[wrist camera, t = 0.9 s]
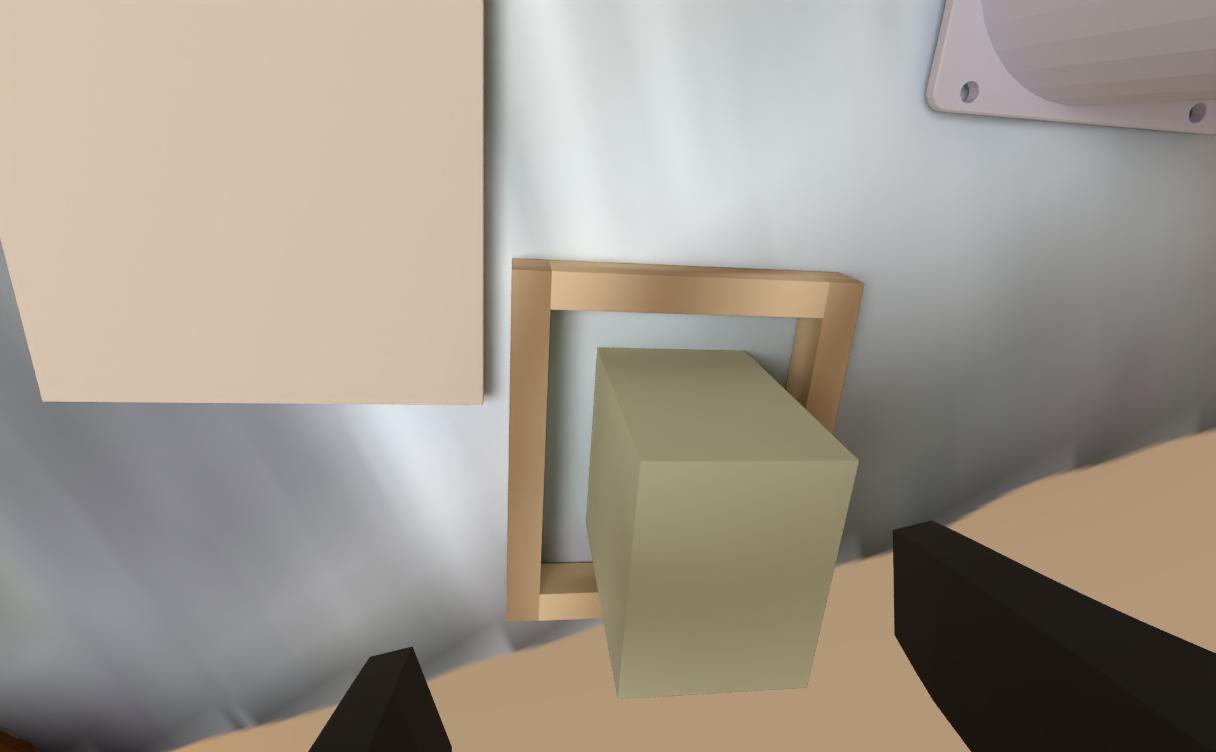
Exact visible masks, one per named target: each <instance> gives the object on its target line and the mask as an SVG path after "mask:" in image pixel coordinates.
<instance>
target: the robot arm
mask: <svg viewBox="0 0 1216 752" xmlns="http://www.w3.org/2000/svg"><path fill="white" fill-rule="evenodd" d="M965 84H967V85H968V87H969V95H968V97H967V99H966V100H965V101H964V102H963V101H962V99H961V97H960V91H961V89H962V87H963V85H965ZM926 98H927V101H928V104H929V106H930V107H931V108H932V109H933V110H936V111H939V112H948V113H960V114H972V115H983V116H995V117H1007V118H1019V119H1030V120H1042V121H1054V122H1065V123H1077V124H1089V125H1101V126H1112V127H1124V128H1136V129H1147V130H1159V131H1171V132H1183V133H1194V134H1206V135H1216V0H947V1H946V5H945V10H944V14H943V19H942V23H941V28H940V33H939V37H938V42H937V46H936V51H935V55H934V60H933V64H932V69H931V73H930V78H929V82H928V87H927V96H926ZM1192 108H1193V110H1192V115H1191V117H1190V118H1189V112H1190V110H1191V109H1192ZM893 564H894V624H895V625H894V626H895V636H896V638H897V640H898V642H899V643H900V645H901V647H902V649H903V650H904V652H905V654H906V656H907V657H908V659H909V661H910V663H911V664H912V666H913V668H914V670H915V671H916V673H917V675H918V676H919V678H920V680H921V681H922V682H923V684H924V686H925V688H926V689H927V691H928V693H929V694H930V696H931V698H932V699H933V701H934V702H935V703H936V705H937V706H938V708H939V709H940V710H941V712H942V713H943V714H944V716H945V717H946V719H947V720H948V721H949V723H951V725H952V727H953V728H954V729H955V731H956V732H957V733H958V734H959V736H960V737H961V738H962V740H963V741H964V743H965V744H966V745H967V747H968V748H969V749H970V751H971V752H1216V653H1214V652H1211V651H1209V650H1206V649H1204V648H1202V647H1200V646H1197V645H1195V644H1193V643H1190V642H1188V641H1186V640H1183V639H1181V638H1179V637H1176V636H1174V635H1172V634H1169V633H1167V632H1165V631H1162V630H1160V629H1158V628H1156V627H1153V626H1151V625H1148V624H1146V623H1144V622H1142V621H1139V620H1137V619H1135V618H1133V617H1131V616H1129V615H1126V614H1124V613H1122V612H1120V611H1118V610H1115V609H1113V608H1111V607H1109V606H1107V605H1105V604H1102V603H1100V602H1098V601H1096V600H1094V599H1092V598H1090V597H1087V596H1085V595H1083V594H1081V593H1079V592H1077V591H1075V590H1073V589H1071V588H1069V587H1067V586H1064V585H1062V584H1060V583H1058V582H1056V581H1054V580H1052V579H1050V578H1048V577H1046V576H1044V575H1042V574H1040V573H1038V572H1036V571H1034V570H1032V569H1030V568H1028V567H1026V566H1024V565H1022V564H1020V563H1018V562H1016V561H1014V560H1012V559H1010V558H1008V557H1006V556H1004V555H1002V554H1000V553H998V552H996V551H994V550H992V549H990V548H988V547H986V546H984V545H982V544H980V543H978V542H976V541H974V540H972V539H970V538H968V537H966V536H964V535H962V534H960V533H958V532H955V531H953V530H951V529H949V528H947V527H945V526H943V525H940V524H938V523H936V522H934V521H928V522H924V523H920V524H916V525H912V526H908V527H903V528H899V529H895V530H893ZM308 752H452V746H451V744H450V741H449V739H448V736H447V734H446V732H445V729H444V726H443V724H442V721H441V718H440V716H439V713H438V711H437V708H436V706H435V703H434V700H433V698H432V696H431V693H430V690H429V688H428V685H427V682H426V680H425V677H424V675H423V672H422V670H421V667H420V665H419V662H418V659H417V657H416V654H415V652H414V649H413V647H409V648H405V649H401V650H397V651H392V652H388V653H384V654H380V655H376V656H372V657H370V658H369V659H368V661H367V662H366V664H365V665H364V667H363V668H362V670H361V671H360V673H359V674H358V676H357V677H356V679H355V680H354V682H353V683H352V685H351V686H350V688H349V689H348V691H347V692H346V694H345V696H344V697H343V699H342V700H341V702H340V703H339V705H338V706H337V708H336V710H335V711H334V713H333V714H332V716H331V718H330V719H329V720H328V722H327V724H326V725H325V727H324V728H323V730H322V731H321V733H320V734H319V736H318V737H317V739H316V741H315V742H314V744H313V745H312V747H311V748H310V750H309V751H308Z"/></svg>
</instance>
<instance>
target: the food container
mask: <svg viewBox="0 0 1216 752" xmlns="http://www.w3.org/2000/svg"><path fill="white" fill-rule="evenodd" d="M0 752H40V751H39V750H37V749H36V748H35V747H34V746H32V745H31V744H30V743H28V742H26V741H24V740H23V739H21V738H19V737H17V736H15V735H13V734H11V733H9V732H7V731H5V730H3V729H1V728H0Z"/></svg>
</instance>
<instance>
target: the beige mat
mask: <svg viewBox="0 0 1216 752" xmlns="http://www.w3.org/2000/svg"><path fill="white" fill-rule="evenodd" d="M0 238H1V242H2V246H3V250H4V254H5V258H6V262H7V265H8V269H9V273H10V277H11V281H12V285H13V289H14V293H15V296H16V300H17V304H18V308H19V312H20V316H21V320H22V323H23V327H24V331H25V335H26V339H27V343H28V347H29V350H30V354H31V358H32V362H33V366H34V370H35V374H36V378H37V381H38V385H39V389H40V393H41V397H42V401H67V402H180V403H293V404H407V405H483V398H484V0H0Z"/></svg>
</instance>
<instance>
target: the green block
mask: <svg viewBox="0 0 1216 752" xmlns="http://www.w3.org/2000/svg"><path fill="white" fill-rule="evenodd" d="M858 463H859V460H858V459H857V458H856V457H855V456H854V455H853V454H852V453H851V452H850V451H849V450H848V449H847V448H845V447H844V446H843V445H842V444H841V443H840V442H839V441H838V440H837V439H836V438H835V437H834V436H833V435H832V434H831V433H830V432H829V431H828V430H827V429H826V428H825V427H824V426H823V425H822V424H820V423H819V422H818V421H817V420H816V419H815V418H814V417H813V416H812V415H811V414H810V413H809V412H808V411H807V410H806V409H805V408H804V407H803V406H802V405H801V404H800V403H799V402H798V401H796V400H795V399H794V398H793V397H792V396H791V395H790V394H789V393H788V392H787V391H786V390H785V389H784V388H783V387H782V386H781V385H780V384H779V383H778V382H777V381H776V380H775V379H774V378H773V377H771V376H770V375H769V374H768V373H767V372H766V371H765V370H764V369H763V368H762V367H761V366H760V365H759V364H758V363H757V362H756V361H755V360H754V359H753V358H752V357H751V356H750V355H749V354H747V353H746V352H745V351H733V350H689V349H645V348H600V347H597V359H596V374H595V389H594V405H593V420H592V435H591V451H590V466H589V482H588V497H587V512H586V527H587V533H588V538H589V544H590V549H591V555H592V560H593V566H594V571H595V577H596V582H597V588H598V593H599V599H600V604H601V610H602V616H603V621H604V627H605V632H606V638H607V643H608V649H609V654H610V660H611V665H612V671H613V676H614V682H615V687H616V693H617V698H618V699H633V698H650V697H666V696H682V695H699V694H716V693H732V692H748V691H765V690H781V689H798V688H807V685H808V681H809V677H810V672H811V667H812V663H813V659H814V655H815V651H816V646H817V641H818V637H819V633H820V629H821V624H822V620H823V615H824V611H825V607H826V603H827V597H828V594H829V590H830V585H831V581H832V577H833V572H834V568H835V563H836V559H837V555H838V550H839V546H840V542H841V537H842V533H843V529H844V524H845V520H846V516H847V511H848V507H849V503H850V498H851V494H852V489H853V485H854V481H855V476H856V472H857V468H858Z"/></svg>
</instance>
